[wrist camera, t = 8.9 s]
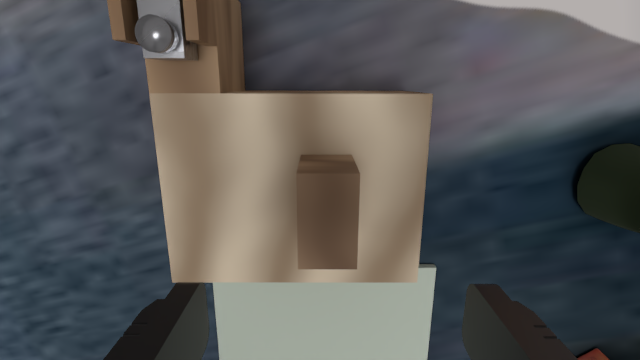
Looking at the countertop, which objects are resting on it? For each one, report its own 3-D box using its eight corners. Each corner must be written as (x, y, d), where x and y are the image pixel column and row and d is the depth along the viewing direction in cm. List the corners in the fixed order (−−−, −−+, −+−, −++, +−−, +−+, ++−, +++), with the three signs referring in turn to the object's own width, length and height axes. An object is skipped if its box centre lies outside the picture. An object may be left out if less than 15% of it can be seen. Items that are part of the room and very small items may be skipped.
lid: (182, 268, 25) (138, 328, 19) (162, 92, 22) (102, 96, 16) (410, 268, 25) (439, 328, 19) (423, 92, 22) (464, 97, 16)
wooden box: (205, 237, 30) (151, 310, 20) (184, 2, 25) (100, -46, 16) (395, 237, 30) (431, 311, 20) (409, 3, 25) (466, -45, 16)
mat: (225, 403, 35) (223, 408, 34) (213, 264, 31) (211, 267, 30) (420, 403, 35) (422, 408, 34) (433, 264, 31) (436, 267, 30)
